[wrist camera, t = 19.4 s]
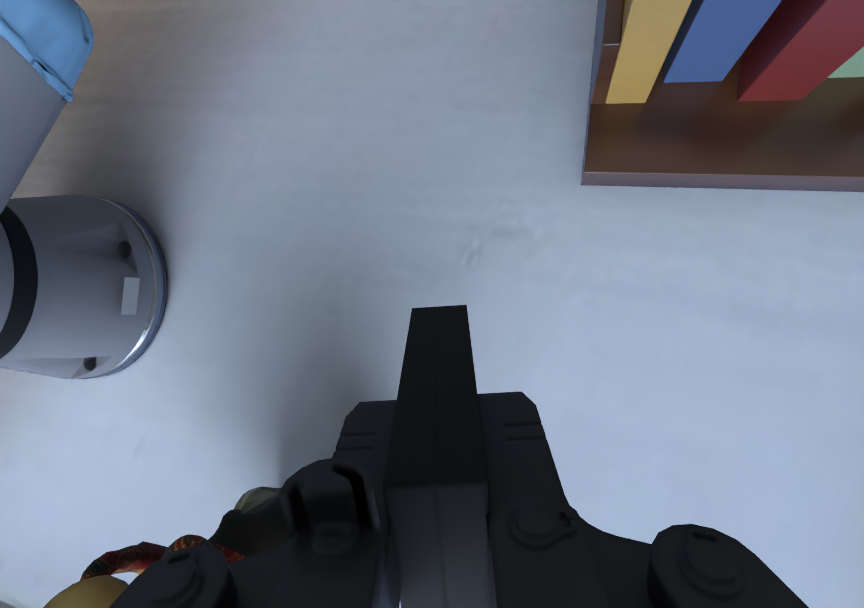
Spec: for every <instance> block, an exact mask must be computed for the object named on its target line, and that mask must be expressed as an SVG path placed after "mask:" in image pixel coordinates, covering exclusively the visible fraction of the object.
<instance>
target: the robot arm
mask: <svg viewBox="0 0 864 608" xmlns="http://www.w3.org/2000/svg"><path fill="white" fill-rule="evenodd" d="M93 44H94V34H93V29H92V26H91V23H90V21H89V19H88V17H87V15H86V14H85V12H84V11H83V10H82V8H81V7H80V6H79V5H78V4H77V3H76V2H75V1H74V0H0V368H4V369H10V370H16V371H22V372H28V373H34V374H39V375H45V376H51V377H57V378H63V379H89V378H96V377H103V376H108V375H111V374H115V373H117V372H119V371H121V370H123V369H125V368H127V367H128V366H130V365H131V364H132V363H134V362H135V361H136V360H137V359H138V358H139V357H140V356H141V355H142V354H143V353H144V352H145V350H146V349H147V348H148V346H149V345H150V343H151V342H152V340H153V338H154V337H155V335H156V333H157V330H158V328H159V326H160V323H161V320H162V317H163V313H164V309H165V303H166V295H167V276H166V268H165V263H164V258H163V255H162V252H161V248H160V246H159V244H158V241H157V239H156V237H155V236H154V234H153V232H152V231H151V229H150V228H149V226H148V225H147V224H146V222H145V221H144V220H143V219H142V218H141V217H140V216H139V215H138V214H137V213H135V212H134V211H133V210H131V209H130V208H128V207H126V206H124V205H122V204H120V203H117V202H114V201H111V200H107V199H103V198H99V197H93V196H84V195H61V196H46V197H30V198H15V199H10V198H11V196H12V194H13V193H14V191H15V189H16V187H17V186H18V184H19V182H20V181H21V179H22V177H23V176H24V174H25V172H26V170H27V169H28V167H29V165H30V164H31V162H32V160H33V158H34V157H35V155H36V153H37V152H38V150H39V148H40V146H41V145H42V143H43V141H44V140H45V138H46V136H47V134H48V133H49V131H50V129H51V128H52V126H53V124H54V123H55V121H56V119H57V117H58V116H59V114H60V112H61V111H62V109H63V107H64V105H65V104H66V102H69V103H71V101H72V100H73V98H74V94H73V91H72V89H73V87H74V85H75V83H76V81H77V79H78V77H79V75H80V73H81V71H82V69H83V67H84V65H85V63H86V61H87V59H88V57H89V55H90V53H91V51H92V48H93ZM278 495H279V499H280V503H281V507H282V510H283V514H284V518H285V522H286V525H287V529H288V533H289V537H290V538H289V540H288V541H286V542H284V543H283V544H281V545H280V546H277V547H275V548H273V549H270V550H268V551H265V552H262V553H259V554H256V555H253V556H250V557H247V558H244V559H241V560H237V561H234V562H231V563H228V562H227V560H226V558H225V556H224V554H223V553H222V551H220V550H218V549H216V548H214V547H212V546H210V545H192V546H189V547H186V548H182V549H179V550H176V551H173V552H171V553H169V554H168V555H166V556H164V557H162V558H161V559H159V560H157V561H155V562H154V563H152V564H151V565H150V566H149V567H148V568H147V569H145V570H144V571H143V572H142V573H141V574H140V575H139V576H137V577H136V578H135V579H134V580H133V581H132V582H131V584H130V585H129V586H128V587H127V588H126V589H125V590H124V591H123V592H122V593H121V595H120V596H119V597H118V598H117V599H116V600H115V601H114V602H113V603H112V604H111V606H110V607H109V608H399V602H401V608H809V607H808V606H807V605H806V604H805V603H804V602H803V601H802V600H801V599H800V598H799V597H798V596H797V595H796V594H795V593H794V592H793V591H792V590H791V589H790V588H789V587H787V586H786V585H785V584H784V583H783V582H782V581H781V580H780V579H779V578H778V577H777V576H776V575H775V574H774V573H773V572H772V571H771V570H770V569H769V568H768V567H767V566H766V565H765V564H764V563H763V562H762V561H761V560H760V559H759V558H758V557H757V556H756V555H755V554H754V553H753V552H751V551H750V550H749V549H747V548H746V547H745V546H744V545H742V544H741V543H740V542H739V541H737V540H736V539H734V538H732V537H730V536H728V535H726V534H723V533H721V532H719V531H717V530H715V529H712V528H708V527H703V526H698V525H694V524H685V525H672V526H671V527H669V528H667V529H665V530H663V531H661V532H659V533H658V534H657V536H656V538H655V540H654V541H653V543H652V544H648V543H644V542H640V541H635V540H631V539H627V538H623V537H619V536H615V535H612V534H609V533H606V532H603V531H601V530H599V529H597V528H595V527H594V526H592V525H590V524H588V523H587V522H586V521H585V520H583V519H582V518H581V517H580V516H579V515H578V513H577V511H576V510H575V509H573V508H572V507H571V506H570V505H569V503H568V501H567V499H566V497H565V495H564V492H563V489H562V486H561V482H560V479H559V476H558V473H557V470H556V467H555V464H554V461H553V457H552V454H551V451H550V448H549V445H548V442H547V440H546V436H545V432H544V429H543V426H542V425H541V420H540V417H539V414H538V410H537V407H536V405H535V404H534V403H533V402H532V401H531V400H530V399H529V398H528V397H527V396H526V395H525V394H524V393H522V392H505V393H487V394H477V389H476V381H475V372H474V364H473V356H472V347H471V339H470V331H469V322H468V314H467V306H466V305H457V306H441V307H425V308H412V312H411V318H410V324H409V330H408V336H407V342H406V348H405V354H404V360H403V366H402V372H401V378H400V384H399V390H398V396H397V400H387V401H369V402H359V403H358V404H357V406H356V407H355V408H354V409H353V410H352V411H351V412H350V413H349V414H348V415H347V416H346V418H345V421H344V424H343V427H342V430H341V433H340V437H339V439H338V442H337V445H336V452H334V454H333V457H332V458H330V459H324V460H319V461H316V462H314V463H312V464H310V465H307V466H305V467H303V468H301V469H300V470H298V471H297V472H296V473H295V474H293V475H292V476H291V477H290V478H288V479H287V480H286V482H285V483H284V485H283V486H282V488H281V489H280V491H279V492H278Z"/></svg>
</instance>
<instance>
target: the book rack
mask: <svg viewBox="0 0 864 608" xmlns="http://www.w3.org/2000/svg"><path fill="white" fill-rule="evenodd" d="M624 1H625V0H598V9H597V19H596V30H595V40H594V51H593V62H592V72H591V83H590V94H589V104H588V115H587V126H586V136H585V147H584V157H583V168H582V179H581V185H601V186H642V187H684V188H725V189H766V190H808V191H849V192H864V77H845V78H826V79H825V80H824V81H822V82H821V83H820V84H819V85H818V86H817V87H815V88H814V89H813V90H812V91H811V92H809V93H808V94H807V95H806V96H805V97H804V98H802V99H801V100H793V101H737V95H738V85H739V74H740V64H741V56H740V57H739V59H738V60H737V61H736V63H735V64H734V66H733V67H732V68H731V70H730V71H729V72H728V74H727V75H726V76H725V78H724V79H723V80H722V81H711V82H671V83H663V77H664V66H665V61H664V63H663V65H662V67H661V69H660V72H659V74H658V76H657V78H656V80H655V83H654V85H653V87H652V89H651V91H650V94H649V96H648V98H647V100H646V102H645V103H617V104H606V103H605V101H606V97H607V93H608V89H609V85H610V82H611V78H612V74H613V70H614V66H615V63H616V59H617V55H618V51H619V47H620V44H621V33H622V23H623V12H624Z"/></svg>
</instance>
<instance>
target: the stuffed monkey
mask: <svg viewBox="0 0 864 608" xmlns="http://www.w3.org/2000/svg"><path fill="white" fill-rule="evenodd" d="M280 489H281V488H270V487H258V488H255V489H252V490H249V491H248V492H246V493H245V494H243V495H242V497H241V498H240V500H239V501H238V503H237V504H236V506H235V508H234V510H230V511H229V512H227V513H226V514H225V515H224V516H223V518H222V521H221V523H220V525H219V528H218V529H217V531H216V532H215V534H214V535H213V536H212V537H211V538H210V539H208V540H206V539H205V538H203V537H202V536H197V535H185V536H182V537H180V538H179V539H177V540H176V541H174V542H173V543H172V544H171V545H170V546H169V547H165V546H161V545H157V544H153V543H148V542H141V543H140V544H138V545H133V546H129V547H126V548H123V549H120V550H117V551H110V552H106V553H105V554H103V555H102V556H100V557H99V558H97V559H96V560H94V561H93V562H92V563H91V564H90V565H89V566H88V567H87V569H86V570H85V571H84V572H83V574H82V577H81V579H80V581H79V582H77V583H75V584H72V585H71V586H69V587H68V588H66V589H65V590H63V591H62V592H60V593H58V594H57V595H56V596H55V597H54V598H52V599H51V600H50V601H49V602H48V603H47V604H46V605H45V606H44V608H109V607H110V606H111V604H112V603H113V602H114V601H115V600H116V599H117V598H118V597H119V596H120V595H121V593H122V592H123V591H124V590H125V589H126V588H127V587H128V586H129V585H128V584H127V583H126V582H125V581H123V580H120V579H118V578H115V577H113V576H111V575H113V574H116V573H124V572H135V573H138V574H139V575H140V574H141V573H142V572H143V571H144V570H145V569H147V568H148V567H149V566H150V565H151V564H152V563H154V562H155V561H157V560H159V559H161V558H162V557H164V556H166V555H168V554H169V553H171V552H173V551H176V550H179V549H182V548H186V547H189V546H192V545H210V546H212V547H214V548H216V549H218V550H220V551H222V553H223V554H224V556H225V558H226V560H227V562H228V563H231V562H234V561H237V560H241V559H244V558H247V557H250V556H253V555H256V554H259V553H262V552H265V551H268V550H270V549H273V548H275V547H277V546H280V545H281V544H283V543H284V542H286V541H288V540H289V538H290V537H289V533H288V529H287V525H286V522H285V518H284V514H283V510H282V507H281V503H280V499H279V495H278V492H279V491H280Z"/></svg>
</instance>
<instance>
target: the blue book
mask: <svg viewBox="0 0 864 608" xmlns="http://www.w3.org/2000/svg"><path fill="white" fill-rule="evenodd" d="M781 1H782V0H692V1H691V4H690V6H689V8H688V10H687V12H686V15H685V17H684V19H683V21H682V23H681V26H680V28H679V30H678V32H677V34H676V37H675V39H674V41H673V43H672V45H671V47H670V50H669V52H668V54H667V56H666V58H665V66H664V77H663V83H671V82H711V81H722V80H723V79H724V78H725V76H726V75H727V74H728V72H729V71H730V70H731V68H732V67H733V66H734V64H735V63H736V61H737V60H738V59H739V57H740V56H741V55H742V53H743V52H744V51H745V49H746V48H747V47H748V45H749V44H750V43H751V41H752V40H753V39H754V37H755V36H756V35H757V33H758V32H759V31H760V29H761V28H762V27H763V25H764V24H765V23H766V21H767V20H768V19H769V17H770V16H771V15H772V13H773V12H774V10H775V9H776V8H777V6H778V5H779V4H780V2H781Z"/></svg>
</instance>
